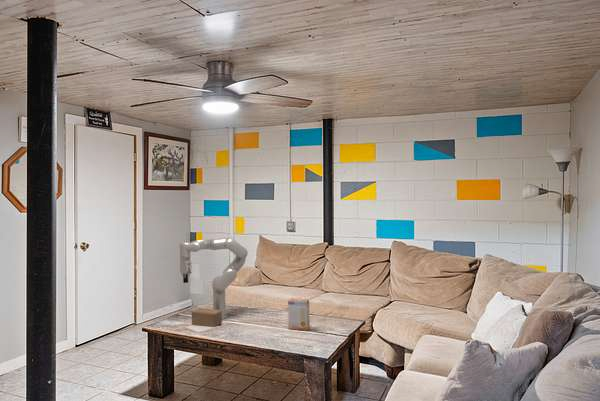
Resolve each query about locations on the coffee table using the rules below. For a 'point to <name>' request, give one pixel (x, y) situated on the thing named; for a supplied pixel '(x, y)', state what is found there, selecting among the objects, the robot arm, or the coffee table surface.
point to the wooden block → (206, 317)
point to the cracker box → (298, 314)
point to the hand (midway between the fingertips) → (185, 282)
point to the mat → (200, 328)
